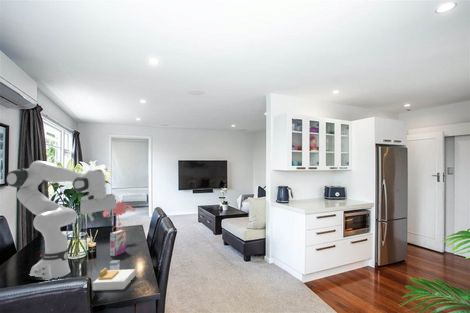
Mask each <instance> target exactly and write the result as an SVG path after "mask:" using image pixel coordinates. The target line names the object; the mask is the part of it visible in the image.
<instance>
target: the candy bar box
mask: <svg viewBox="0 0 470 313" xmlns="http://www.w3.org/2000/svg"><path fill="white" fill-rule="evenodd" d="M126 233H127V232H126V229H120V230H115V231H112V232H110V233H109V234H110V235H109V242H110V243H109V256H110V257H117V256H120V255H122V254H123V253H125V252H126V251H127V250H126V248H127V247H126V244H127V243H126V242H127V241H126V240H127V239H126V236H127V234H126Z"/></svg>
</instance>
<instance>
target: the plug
mask: <svg viewBox="0 0 470 313" xmlns="http://www.w3.org/2000/svg"><path fill="white" fill-rule="evenodd" d="M120 263H121V259H117V260H116V259H115V260H113V259H112V260H111V261H110V262H109V263H108V266H109V270H120Z"/></svg>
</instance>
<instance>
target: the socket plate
mask: <svg viewBox="0 0 470 313" xmlns="http://www.w3.org/2000/svg"><path fill="white" fill-rule="evenodd" d="M107 271H119V272H118V273H117V274H116V275H115V276H114V277H113V278H112V279H98V278H97V279H95V280H93V282H92V291H112V290H113V291H115V290H125V289H126V288H127V286H128V285H129V284H130V283H131V280H132V281H133V280H134V278H135V277H136V269H135V268H134V269H133V268H131V269H130V268H129V269H119V270H110V269H107Z"/></svg>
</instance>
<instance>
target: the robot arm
mask: <svg viewBox="0 0 470 313" xmlns="http://www.w3.org/2000/svg"><path fill="white" fill-rule="evenodd" d="M5 180H6V181H5V182H6V183H7V185H8V186H9V187H12V188H20V189H18V191H17V192H16V198H17V199H18V201H19V202H20V204H22V205H23V206H24V207H25V208H26V209H27V210H28V211H29V212H31V213H32V214H33V215H35V217H34V219H33V221H32V223H33V227H34V228H35V230H36V231H38V232H39V233H41V235H42V236H43V239H44V249H45V250H44V253H42V254H41V255H40V257H42V258H41V259H40V260H38V262H37V263H36V264H34V265H32V267H31V270H30V272H29V275H30V276H35V277H42V278H43V279H44V278H46V279H45V280H48V281H50V280H49V279H52V278H55V279H59V278H62V277H65V276H67V275H68V274H70V273H71V269H70V265H69V260H68V259H69V249H68V236H67V235H66V234H64V233H62V231H61V228H62V227H65V226H68V225H71V224H72V223H74V222H75V221H76V220H77V212H76V211H75V209H74V208H71V207H66V206H63V205H61V204H59V203H56V202H54V201H52V200H51V199H50V198H48V197H47V196H46V195H45V194H43V193H42V192H40V191H39V189H41V188H42V187H43V185H45V183H46V182H51V183H59V182H60V183H61V182H71V183H72V187H73V189H74V191H75V192H78V193H86V192H87V193H88V194H86V195H84V196H82V197H80V201H81V202H80V205H79V207H80V208H79V212H80V214H81V215H87V216H88V218H89V220H90V222H94V221H95V217H93V213H97V212H104V211H105V210H107V211H108V213H107V214H106V217H105V218H110V217H111V216H110V215H111V213H112V210H113V208H116V206H117V205H116V203H117V201H116V195H115V194H113V193H109V194H107V189H106V186H105V185H106V179H105V174H104V171H103V170H102V169H99V168H98V169H97V168H95V169H94V168H93V169H92V168H91V169H88V170H87V171H86V173H80V172H78V171H74V170H70V169H68V168H66V167H63V166H60V165H58V164H55V163H52V162H48V161H45V160H44V161H43V160H35V161H33V162H31V163H30V165H29V167H28V168H19V169H14V170H11V171H10V172H8V173H7V175H6V178H5ZM58 277H59V278H58ZM52 280H53V279H52ZM48 281H47V282H48Z"/></svg>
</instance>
